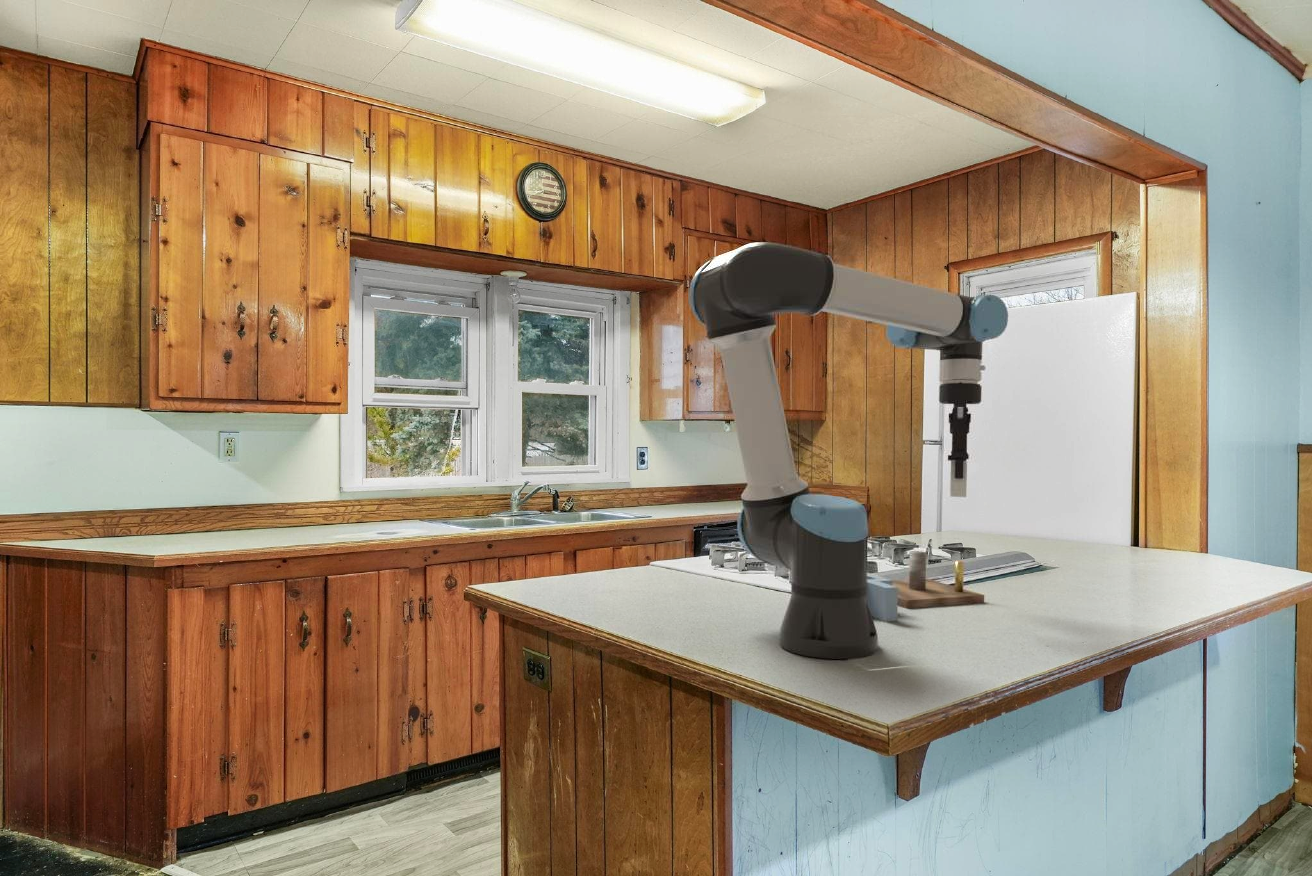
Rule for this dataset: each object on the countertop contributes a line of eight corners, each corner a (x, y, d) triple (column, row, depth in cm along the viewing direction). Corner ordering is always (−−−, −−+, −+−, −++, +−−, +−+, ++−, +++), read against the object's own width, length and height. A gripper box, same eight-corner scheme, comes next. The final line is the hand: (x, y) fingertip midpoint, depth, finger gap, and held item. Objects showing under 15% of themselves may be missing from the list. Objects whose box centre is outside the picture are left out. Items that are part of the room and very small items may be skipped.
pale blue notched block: (828, 605, 156) (828, 574, 156) (866, 602, 158) (866, 572, 158) (870, 622, 142) (871, 588, 142) (911, 619, 144) (912, 586, 144)
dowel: (958, 592, 162) (958, 562, 162) (953, 590, 163) (953, 561, 163) (965, 591, 162) (965, 562, 162) (959, 590, 164) (960, 560, 164)
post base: (906, 608, 154) (907, 561, 154) (855, 590, 171) (855, 547, 171) (984, 602, 159) (984, 556, 159) (926, 585, 176) (927, 544, 176)
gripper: (984, 378, 141) (981, 499, 141) (979, 387, 164) (976, 491, 164) (938, 378, 143) (936, 497, 143) (940, 387, 167) (937, 489, 167)
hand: (957, 494), depth 154 cm, fingers open, 13 cm apart
